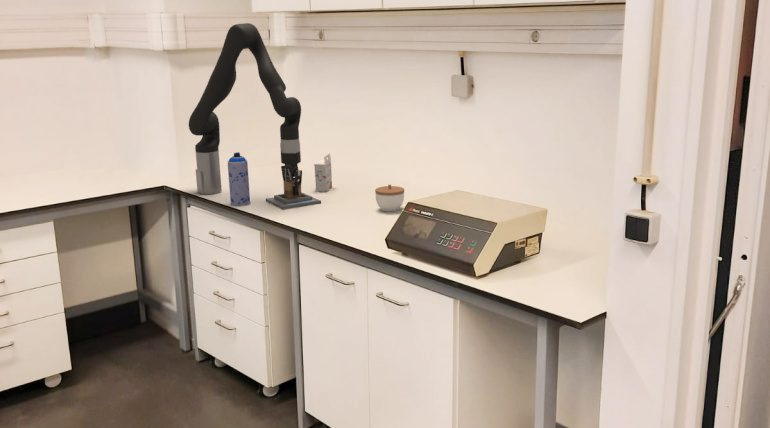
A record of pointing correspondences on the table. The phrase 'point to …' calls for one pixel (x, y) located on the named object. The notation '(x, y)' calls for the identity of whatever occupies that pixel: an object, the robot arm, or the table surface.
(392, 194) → the lidded jar
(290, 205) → the holder
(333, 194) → the table surface
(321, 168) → the ink cartridge box
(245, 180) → the aerosol can
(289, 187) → the block
